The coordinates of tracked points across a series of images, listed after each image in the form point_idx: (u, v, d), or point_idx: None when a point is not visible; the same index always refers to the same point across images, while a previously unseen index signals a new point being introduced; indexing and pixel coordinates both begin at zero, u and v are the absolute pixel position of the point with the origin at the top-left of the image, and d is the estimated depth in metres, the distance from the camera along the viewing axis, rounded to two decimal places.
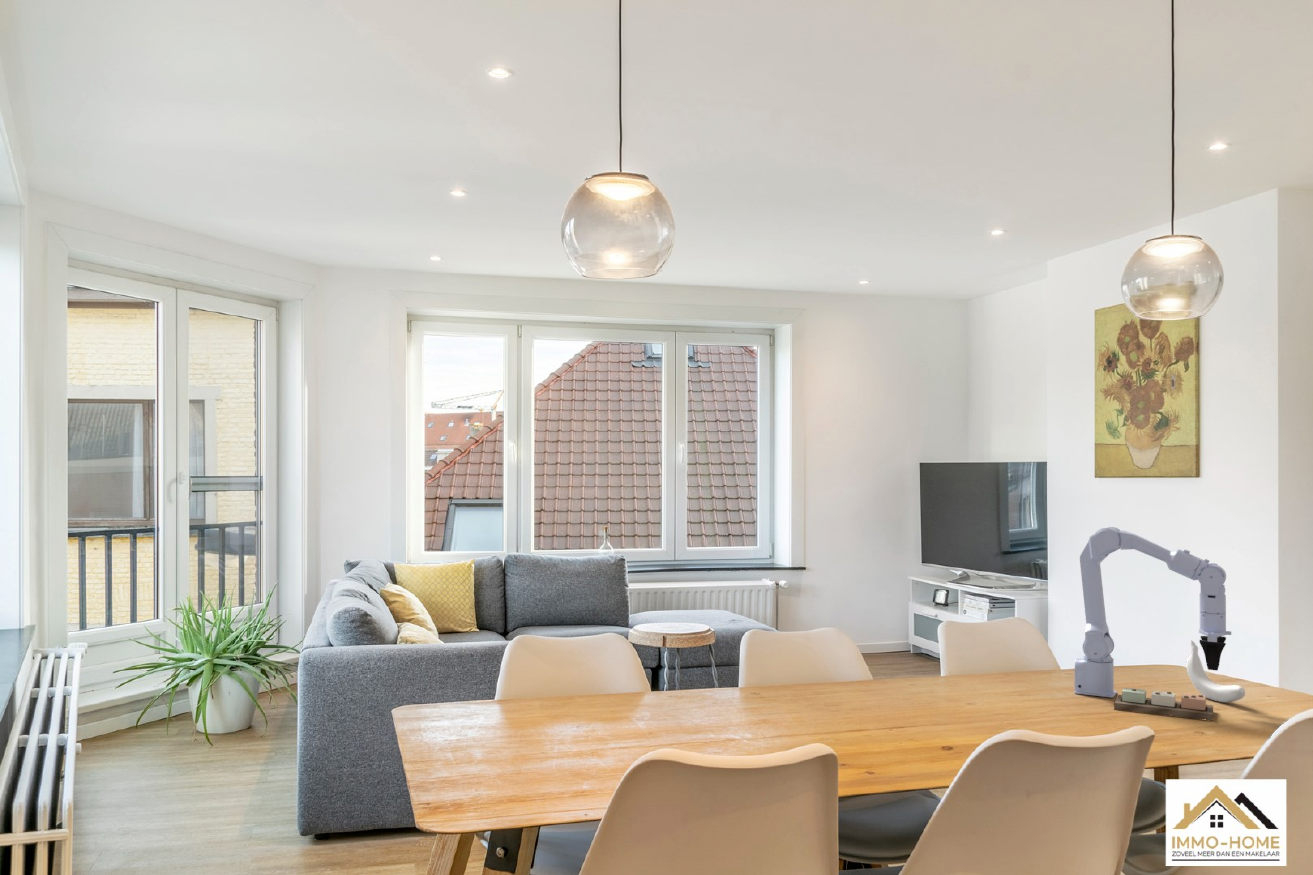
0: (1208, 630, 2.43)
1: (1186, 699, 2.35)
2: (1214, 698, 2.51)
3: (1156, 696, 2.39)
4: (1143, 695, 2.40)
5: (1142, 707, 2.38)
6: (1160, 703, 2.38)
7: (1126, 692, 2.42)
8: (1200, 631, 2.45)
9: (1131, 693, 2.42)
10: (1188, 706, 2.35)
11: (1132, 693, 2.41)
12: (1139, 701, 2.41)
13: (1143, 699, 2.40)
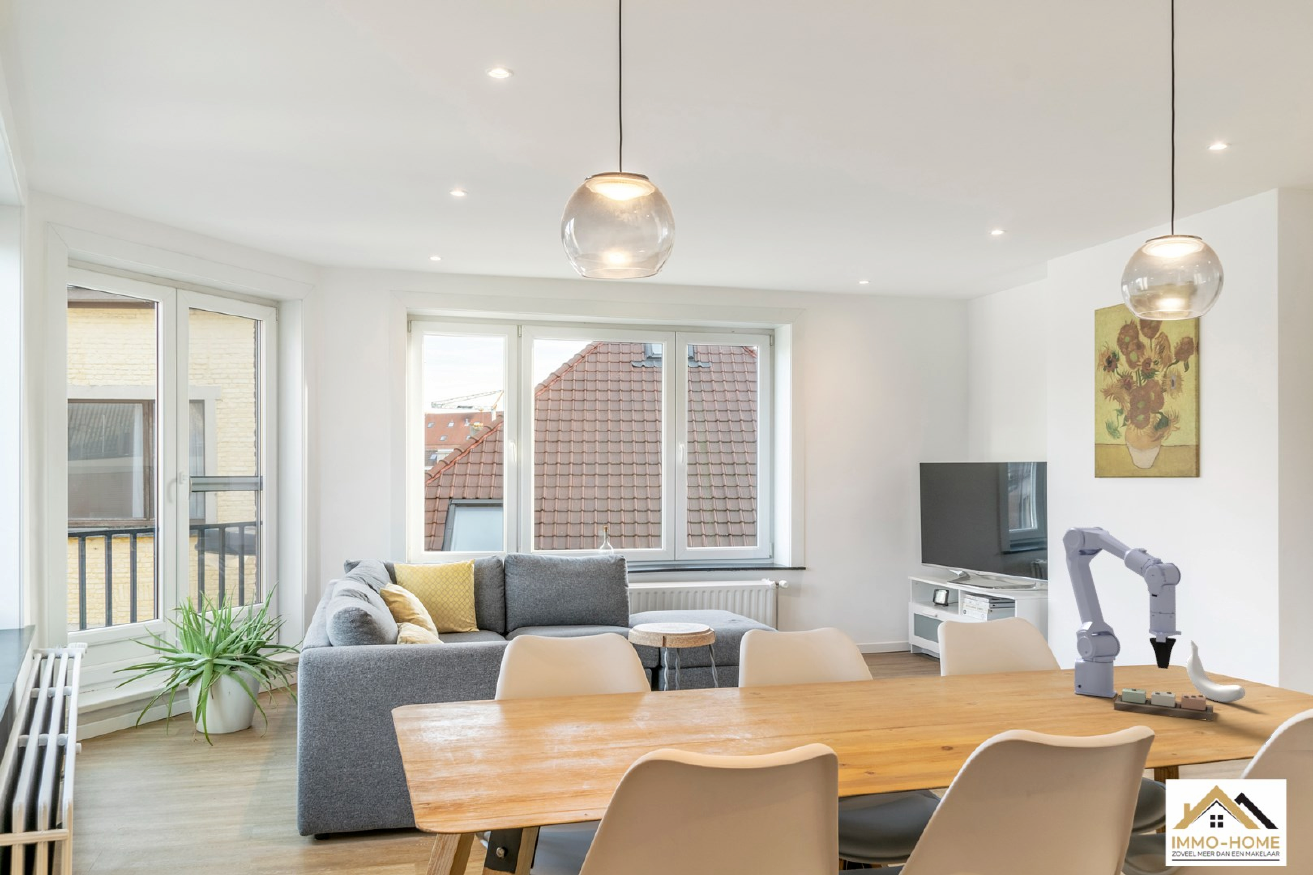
0: (1157, 630, 2.39)
1: (1186, 699, 2.35)
2: (1214, 698, 2.51)
3: (1156, 696, 2.39)
4: (1143, 695, 2.40)
5: (1142, 707, 2.38)
6: (1160, 703, 2.38)
7: (1126, 692, 2.42)
8: (1150, 631, 2.41)
9: (1131, 693, 2.42)
10: (1188, 706, 2.35)
11: (1132, 693, 2.41)
12: (1139, 701, 2.41)
13: (1143, 699, 2.40)
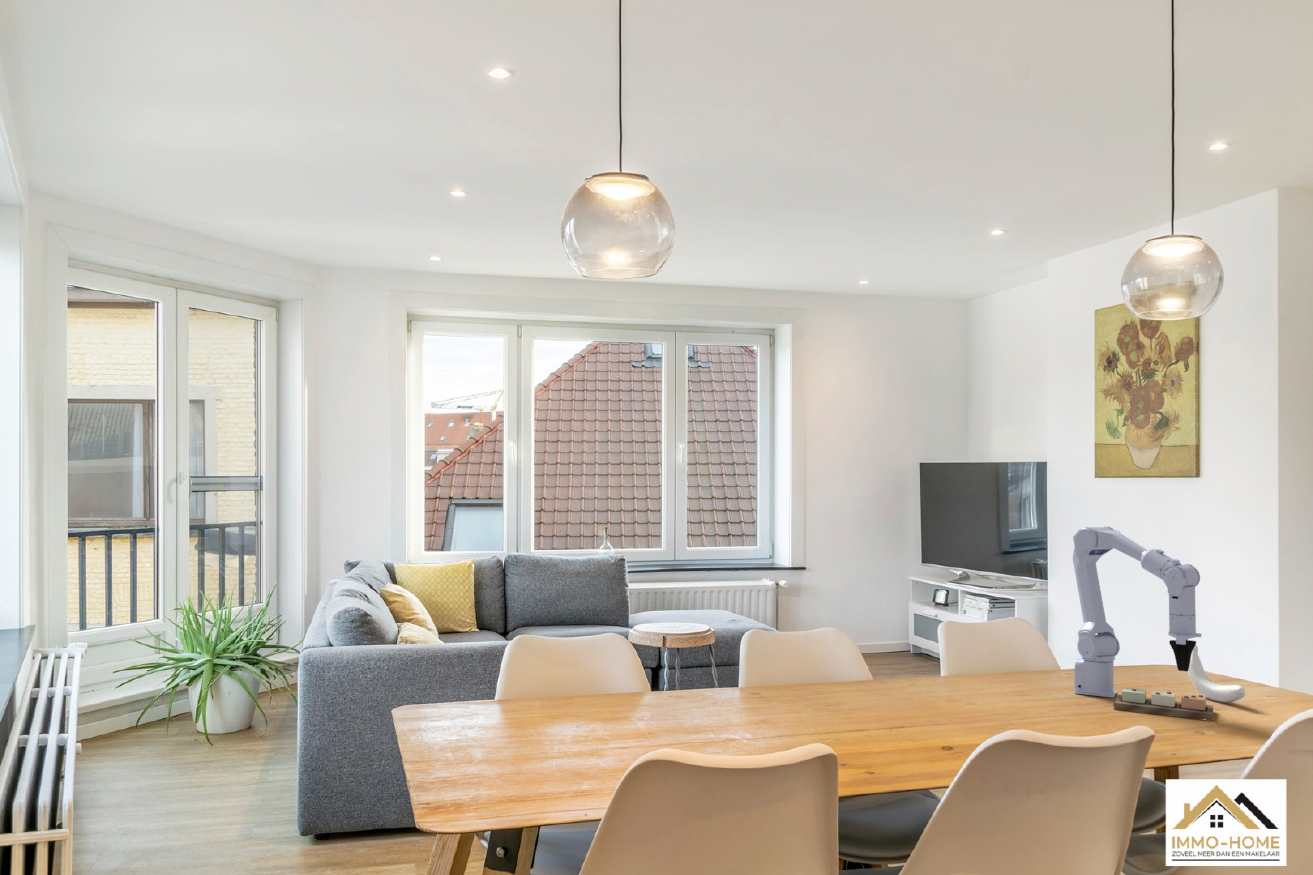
0: (1177, 632, 2.37)
1: (1186, 699, 2.35)
2: (1214, 698, 2.51)
3: (1156, 696, 2.39)
4: (1143, 695, 2.40)
5: (1142, 707, 2.38)
6: (1160, 703, 2.38)
7: (1126, 692, 2.42)
8: (1169, 633, 2.39)
9: (1131, 693, 2.42)
10: (1188, 706, 2.35)
11: (1132, 693, 2.41)
12: (1139, 701, 2.41)
13: (1143, 699, 2.40)
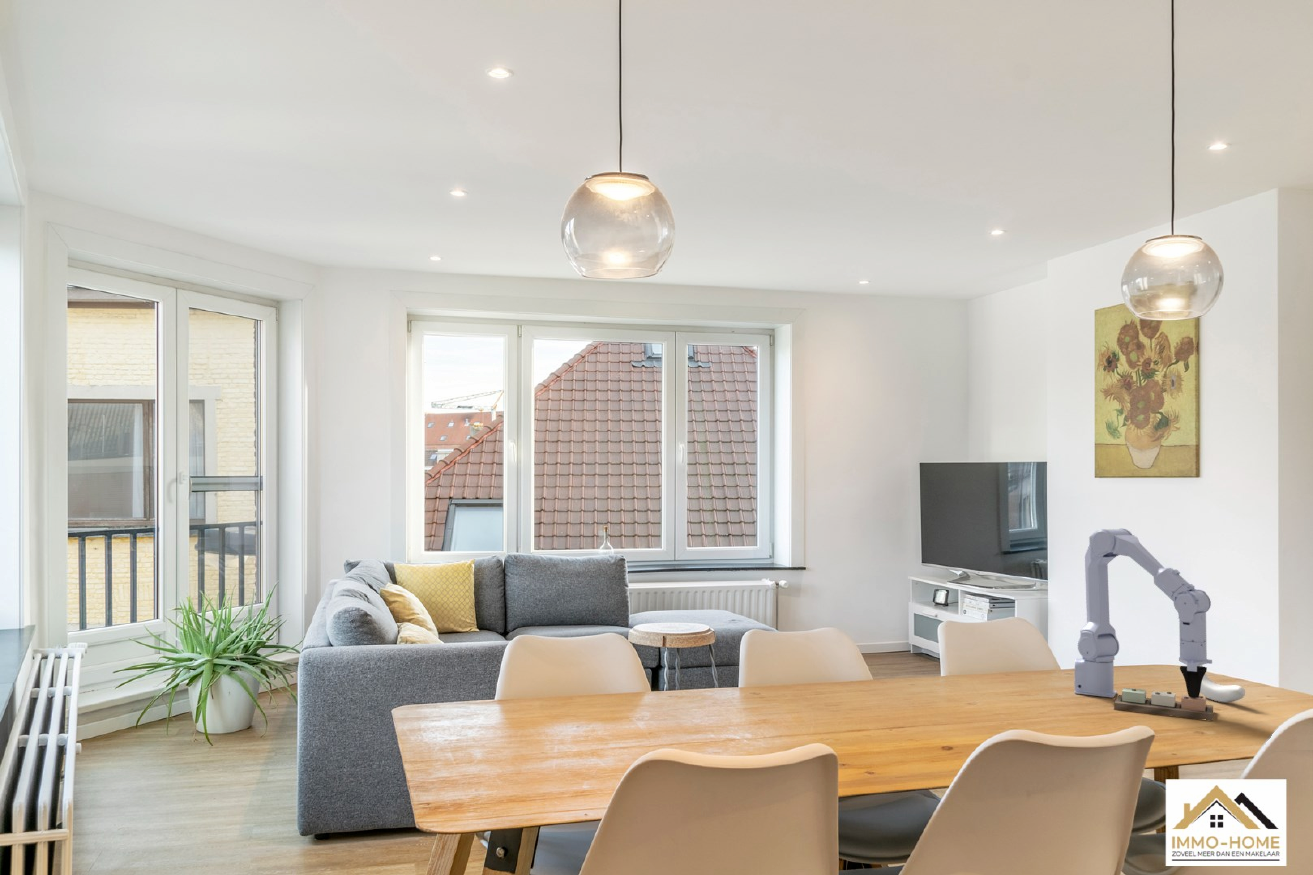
0: (1188, 658, 2.35)
1: (1186, 699, 2.35)
2: (1214, 698, 2.51)
3: (1156, 696, 2.39)
4: (1143, 695, 2.40)
5: (1142, 707, 2.38)
6: (1160, 703, 2.38)
7: (1126, 692, 2.42)
8: (1180, 659, 2.37)
9: (1131, 693, 2.42)
10: (1188, 707, 2.35)
11: (1132, 693, 2.41)
12: (1139, 701, 2.41)
13: (1143, 699, 2.40)
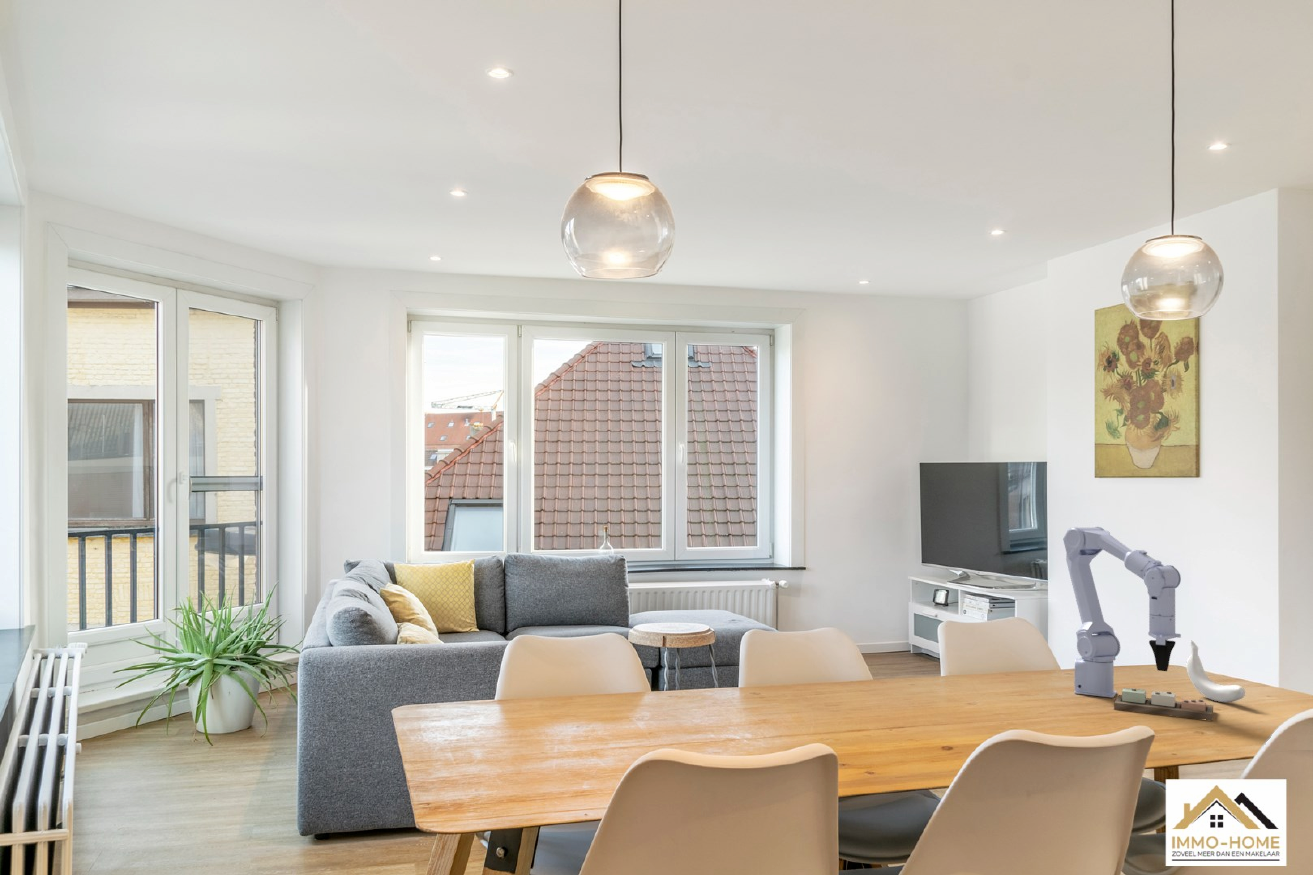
0: (1157, 633, 2.39)
1: (1186, 703, 2.35)
2: (1214, 698, 2.51)
3: (1156, 696, 2.39)
4: (1143, 695, 2.40)
5: (1142, 707, 2.38)
6: (1160, 703, 2.38)
7: (1126, 692, 2.42)
8: (1149, 634, 2.41)
9: (1131, 693, 2.42)
10: None
11: (1132, 693, 2.41)
12: (1139, 701, 2.41)
13: (1143, 699, 2.40)
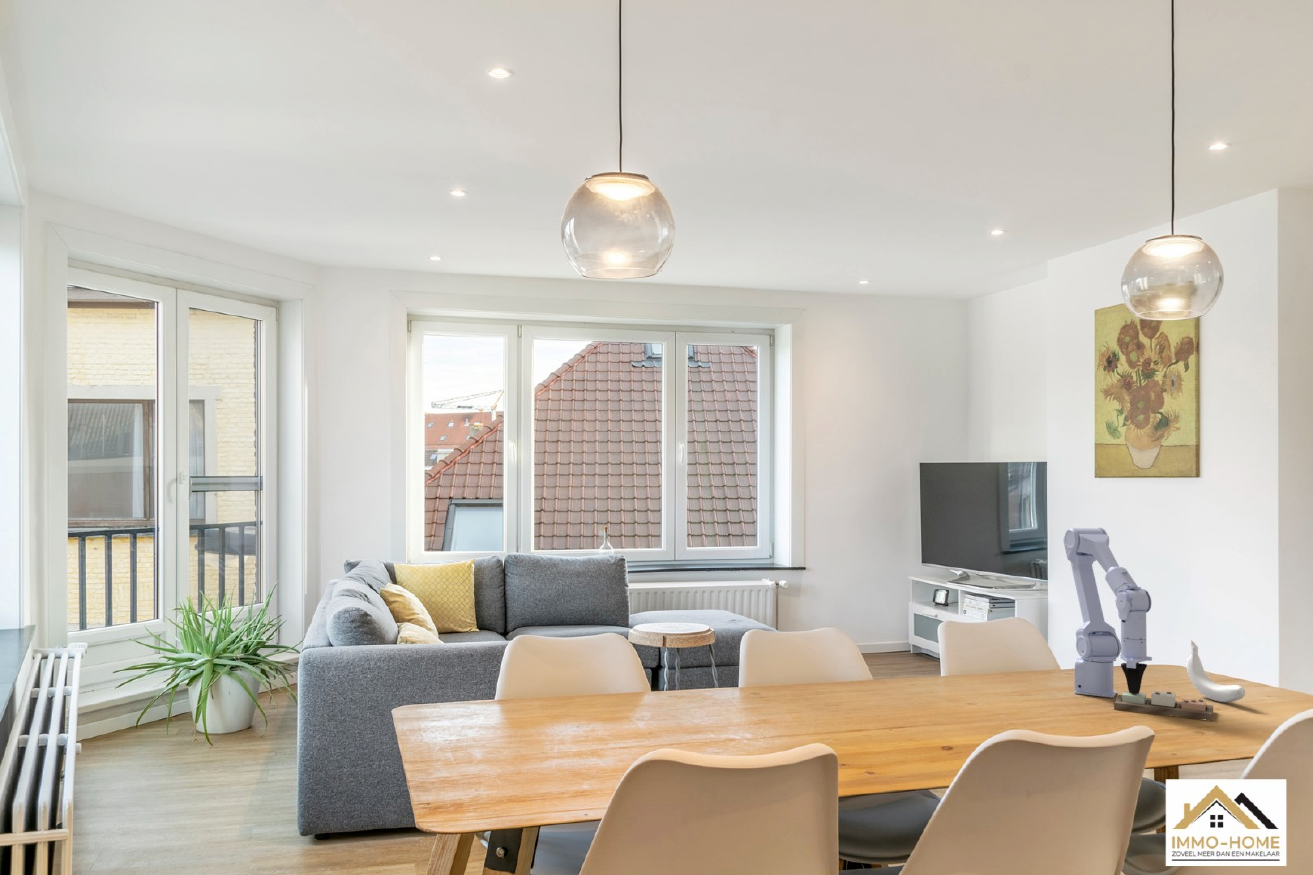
0: (1128, 656, 2.42)
1: (1186, 703, 2.35)
2: (1214, 698, 2.51)
3: (1156, 696, 2.39)
4: (1143, 699, 2.40)
5: (1142, 707, 2.38)
6: (1160, 703, 2.38)
7: (1126, 696, 2.42)
8: (1121, 657, 2.44)
9: (1131, 697, 2.42)
10: None
11: (1132, 697, 2.41)
12: None
13: (1143, 703, 2.40)
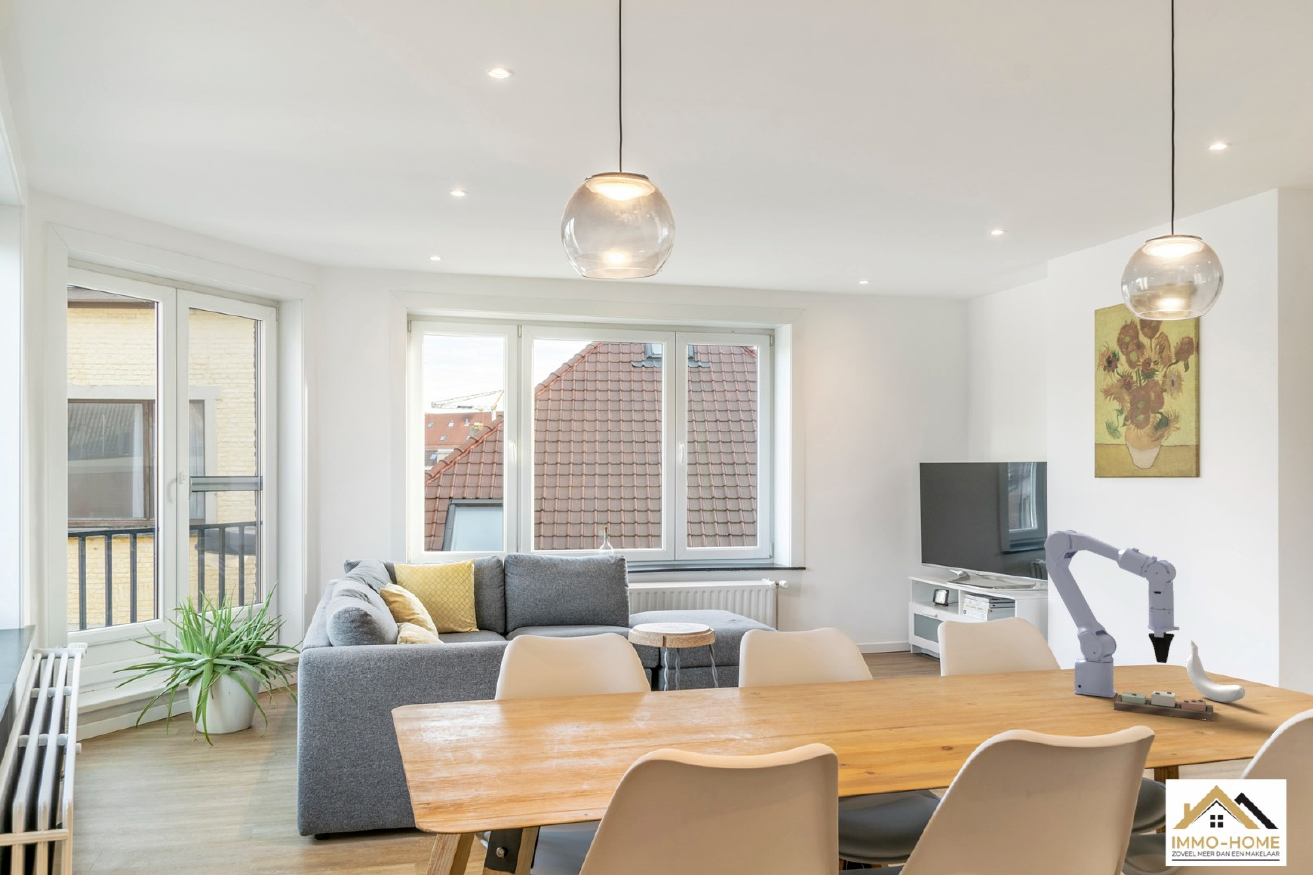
0: (1156, 626, 2.47)
1: (1186, 703, 2.35)
2: (1214, 698, 2.51)
3: (1156, 696, 2.39)
4: (1143, 700, 2.40)
5: (1142, 707, 2.38)
6: (1160, 703, 2.38)
7: (1126, 697, 2.42)
8: (1149, 627, 2.49)
9: (1131, 698, 2.42)
10: None
11: (1132, 698, 2.41)
12: None
13: None
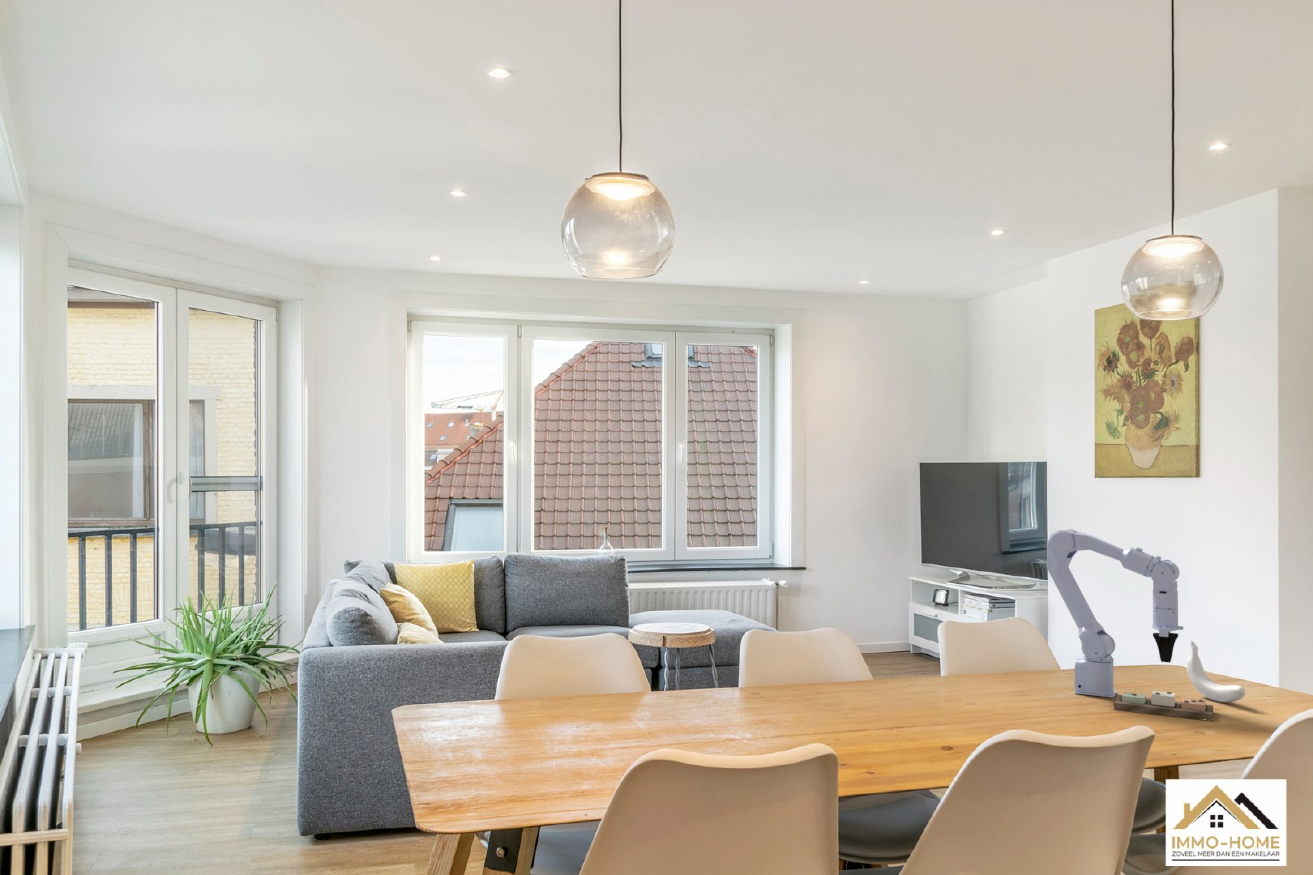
0: (1160, 625, 2.48)
1: (1186, 703, 2.35)
2: (1214, 698, 2.51)
3: (1156, 696, 2.39)
4: (1143, 700, 2.40)
5: (1142, 707, 2.38)
6: (1160, 703, 2.38)
7: (1126, 697, 2.42)
8: (1153, 626, 2.49)
9: (1131, 698, 2.42)
10: None
11: (1132, 698, 2.41)
12: None
13: None
